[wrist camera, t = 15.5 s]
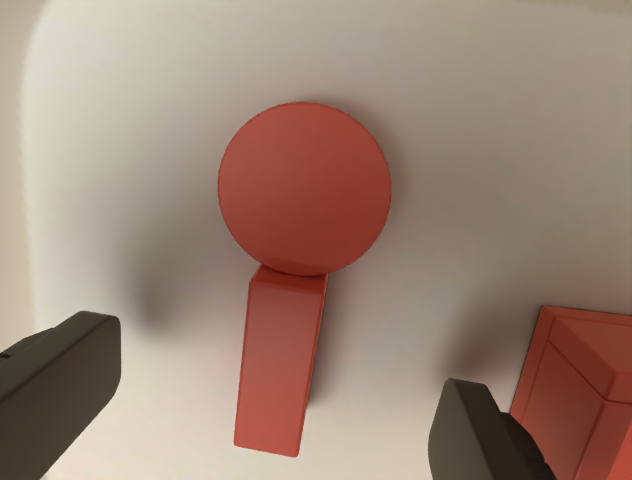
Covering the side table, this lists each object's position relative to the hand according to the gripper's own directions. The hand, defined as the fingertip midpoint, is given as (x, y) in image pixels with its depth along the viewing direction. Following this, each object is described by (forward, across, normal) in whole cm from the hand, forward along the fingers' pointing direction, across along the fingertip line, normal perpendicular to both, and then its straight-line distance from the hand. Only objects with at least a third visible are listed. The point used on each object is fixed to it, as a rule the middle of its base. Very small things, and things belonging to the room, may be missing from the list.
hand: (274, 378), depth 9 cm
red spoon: (+1, 0, -2) cm, 2 cm away
